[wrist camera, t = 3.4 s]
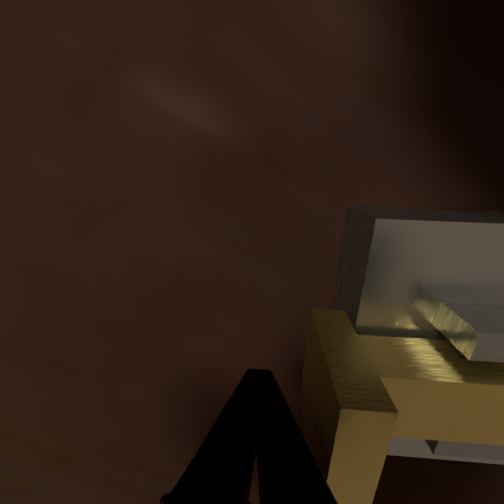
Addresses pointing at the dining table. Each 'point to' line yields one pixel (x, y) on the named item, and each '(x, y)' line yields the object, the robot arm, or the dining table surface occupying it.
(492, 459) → the socket
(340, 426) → the key
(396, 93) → the dining table surface
